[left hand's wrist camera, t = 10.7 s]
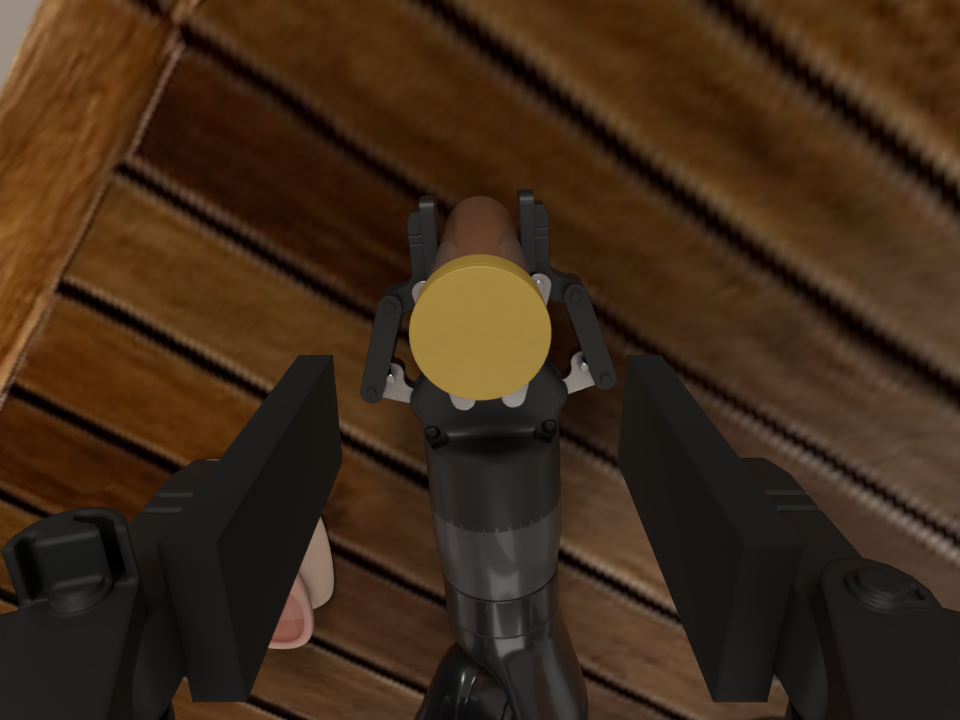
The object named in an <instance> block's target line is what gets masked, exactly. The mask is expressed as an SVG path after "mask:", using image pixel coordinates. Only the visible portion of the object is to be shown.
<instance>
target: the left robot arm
mask: <svg viewBox="0 0 960 720" xmlns="http://www.w3.org/2000/svg"><path fill="white" fill-rule="evenodd" d="M342 462H343V460H342V449H341V439H340V428H339V417H338V407H337V396H336V385H335V374H334V364H333V355H299V356H298V357H297V358H296V360H295V361H294V362H293V364H292V365H291V366H290V368H289V369H288V370H287V372H286V373H285V374H284V376H283V377H282V378H281V379H280V381H279V382H278V383H277V385H276V386H275V387H274V389H273V390H272V391H271V393H270V394H269V395H268V397H267V398H266V399H265V401H264V402H263V403H262V404H261V406H260V407H259V408H258V410H257V411H256V412H255V414H254V415H253V416H252V418H251V419H250V420H249V422H248V423H247V424H246V426H245V427H244V428H243V429H242V431H241V432H240V433H239V435H238V436H237V437H236V439H235V440H234V441H233V443H232V444H231V445H230V447H229V448H228V449H227V451H226V452H225V453H224V455H223V456H222V457H221V458H220V460H195V461H194V462H192V463H190V464H189V465H187V466H186V467H184V468H182V469H181V470H179V471H178V472H176V473H174V474H173V475H171V476H170V477H169V479H168V480H167V481H166V482H165V483H164V484H163V486H162V487H161V488H160V489H159V490H158V491H157V493H156V496H155V497H152V498H151V499H150V501H149V502H148V503H147V504H146V505H145V506H144V508H143V511H142V513H138V515H137V516H136V517H135V518H134V519H133V520H132V522H131V523H130V524H129V525H128V526H127V522H126V518H125V516H124V515H122V514H121V513H120V512H118V511H117V510H116V509H110V508H105V507H87V508H77V509H73V510H69V511H65V512H61V513H57V514H54V515H52V516H49V517H47V518H45V519H42V520H40V521H38V522H35V523H33V524H31V525H30V526H28V527H27V528H25V529H24V530H22V531H21V532H19V533H18V534H16V535H14V536H13V537H12V538H11V539H10V540H9V542H8V543H7V544H6V545H5V546H4V547H3V548H2V549H1V552H2V555H3V558H4V561H5V564H6V566H7V569H8V572H9V575H10V578H11V581H12V584H13V587H14V590H15V592H16V595H17V598H18V601H19V604H20V606H19V608H18V610H17V611H13V612H10V613H5V614H1V615H0V720H175V714H174V709H173V705H172V701H171V700H172V698H173V696H174V694H175V692H176V691H177V689H178V687H179V685H180V683H181V681H182V679H183V677H184V675H185V674H186V675H187V679H188V683H189V687H190V692H191V696H192V700H193V702H247V700H248V697H249V695H250V692H251V690H252V687H253V685H254V682H255V680H256V677H257V674H258V672H259V669H260V667H261V664H262V662H263V659H264V657H265V654H266V652H267V649H268V647H269V644H270V642H271V639H272V637H273V634H274V632H275V629H276V627H277V624H278V622H279V619H280V617H281V614H282V612H283V609H284V607H285V604H286V602H287V599H288V597H289V594H290V592H291V589H292V587H293V584H294V582H295V579H296V577H297V574H298V572H299V569H300V567H301V564H302V562H303V559H304V557H305V554H306V552H307V549H308V547H309V544H310V542H311V539H312V537H313V534H314V532H315V529H316V527H317V524H318V522H319V519H320V517H321V514H322V512H323V509H324V507H325V504H326V502H327V499H328V497H329V494H330V492H331V489H332V487H333V484H334V482H335V479H336V477H337V474H338V472H339V469H340V467H341V464H342ZM617 462H618V464H619V467H620V469H621V472H622V474H623V477H624V479H625V482H626V484H627V487H628V489H629V492H630V494H631V497H632V499H633V502H634V504H635V507H636V509H637V512H638V514H639V517H640V519H641V522H642V524H643V527H644V529H645V532H646V534H647V537H648V539H649V542H650V544H651V547H652V549H653V552H654V554H655V557H656V559H657V562H658V564H659V567H660V569H661V572H662V574H663V577H664V579H665V582H666V584H667V587H668V589H669V592H670V594H671V597H672V599H673V602H674V604H675V607H676V609H677V612H678V614H679V617H680V619H681V622H682V624H683V627H684V629H685V632H686V634H687V637H688V639H689V642H690V644H691V647H692V649H693V652H694V654H695V657H696V659H697V662H698V664H699V667H700V669H701V672H702V675H703V677H704V680H705V682H706V685H707V687H708V690H709V692H710V695H711V697H712V700H713V702H767V700H768V696H769V692H770V687H771V683H772V679H773V675H774V670H775V672H776V674H777V676H778V678H779V680H780V682H781V683H782V685H783V687H784V689H785V691H786V693H787V695H788V697H789V701H788V705H787V709H786V713H785V717H784V720H960V612H958V611H954V610H950V609H946V608H942V607H941V605H940V603H939V602H938V601H937V599H936V598H935V597H934V595H933V594H932V593H931V591H930V590H929V589H928V588H927V587H925V586H924V585H923V584H921V583H920V582H919V581H917V580H916V579H915V578H913V577H912V576H910V575H908V574H906V573H904V572H902V571H900V570H898V569H896V568H894V567H892V566H890V565H887V564H884V563H880V562H877V561H873V560H870V559H864V558H862V557H861V556H860V554H859V553H858V552H857V551H856V550H855V549H854V547H853V546H852V545H851V544H850V543H849V542H848V541H847V539H846V538H845V537H844V536H843V535H842V534H841V532H840V531H839V530H838V529H837V528H836V527H835V526H834V524H833V523H832V522H831V521H830V520H829V519H828V517H827V516H826V515H825V514H824V513H823V512H822V511H821V510H818V506H817V505H816V504H815V502H814V501H813V500H812V499H811V498H810V497H809V496H808V495H805V491H804V490H803V489H802V488H801V486H800V485H799V484H798V483H797V482H796V481H795V479H794V478H793V477H792V476H791V475H790V474H789V473H788V472H786V471H784V470H783V469H781V468H780V467H778V466H776V465H775V464H773V463H772V462H770V461H768V460H767V459H765V458H739V457H738V456H737V455H736V453H735V452H734V451H733V449H732V448H731V447H730V445H729V444H728V443H727V441H726V440H725V439H724V437H723V436H722V435H721V433H720V432H719V431H718V430H717V428H716V427H715V426H714V424H713V423H712V422H711V420H710V419H709V418H708V416H707V415H706V414H705V412H704V411H703V410H702V408H701V407H700V406H699V404H698V403H697V402H696V401H695V399H694V398H693V397H692V395H691V394H690V393H689V391H688V390H687V389H686V387H685V386H684V385H683V383H682V382H681V381H680V379H679V378H678V377H677V376H676V374H675V373H674V372H673V370H672V369H671V368H670V366H669V365H668V364H667V362H666V361H665V360H664V358H663V357H662V356H661V355H627V364H626V374H625V385H624V396H623V406H622V417H621V428H620V439H619V449H618V460H617Z"/></svg>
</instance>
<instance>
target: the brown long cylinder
mask: <svg viewBox="0 0 960 720" xmlns="http://www.w3.org/2000/svg"><path fill="white" fill-rule="evenodd" d="M478 254H484V255H493V256H497V257H501V258H503V259H506V260H509V261H511V262H512V263H514V264H516V265H518V266H519V267H520V268H522V269H523V270H524V271H525V272H526V273H527V274H528V275H530V273H529V270H528V267H527V263H526V260H525V257H524V254H523V251H522V248H521V245H520V242H519V238H518V235H517V232H516V229H515V226H514V223H513V220H512V217H511V215H510V213H509V212H508V210H507V209H506V208H505V207H504V206H503V205H502V204H501V203H500V202H498V201H496V200H495V199H492V198H489V197H484V196H476V197H471V198H468V199H466V200H463V201H462V202H460V203H459V204H458V205H457V206H456V207H455V208H454V209H453V210H452V212H451V213H450V215H449V217H448V220H447V223H446V226H445V229H444V232H443V236H442V239H441V242H440V245H439V248H438V251H437V255H436V258H435V261H434V264H433V267H432V270H431V274H430V276H431V275H432V274H433V273H434V272H435V271H436V270H437V269H439V268H440V267H441V266H443V265H445V264H446V263H448V262H450V261H452V260H454V259H457V258H460V257H463V256H468V255H478ZM530 277H531V276H530Z"/></svg>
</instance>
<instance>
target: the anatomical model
mask: <svg viewBox="0 0 960 720" xmlns="http://www.w3.org/2000/svg"><path fill="white" fill-rule="evenodd" d="M209 460H220V459H209ZM333 588H334V571H333V562H332V556H331V550H330V546H329V542H328V538H327V534H326V530H325V527H324V524H323V521H322V519H321V517H320V519H319V522H318V524H317V527H316V529H315V532H314V534H313V537H312V539H311V542H310V544H309V547H308V549H307V552H306V554H305V557H304V559H303V562H302V564H301V567H300V569H299V572H298V574H297V577H296V579H295V582H294V584H293V587H292V589H291V592H290V594H289V597H288V599H287V602H286V604H285V607H284V609H283V612H282V614H281V617H280V619H279V622H278V624H277V627H276V629H275V632H274V634H273V637H272V639H271V642H270V644H269V647H268V648H274V649H290V648H296V647H299V646H302V645H304V644H305V643H306V642H307V641H308V640H309V639H310V637H311V635H312V633H313V628H314V613H313V609H315V608H317V607H320V606H321V605H323V604H324V603H326V602H327V601H328V600H329V598H330V597H331V595H332V592H333Z"/></svg>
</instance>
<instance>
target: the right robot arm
mask: <svg viewBox="0 0 960 720" xmlns="http://www.w3.org/2000/svg"><path fill="white" fill-rule="evenodd" d="M517 211H518V236H519V242H520V245H521V248H522V251H523V254H524V257H525V260H526V263H527V267H528V270H529V273H530V276H531V278H532V279H533V280H534V282H535V283H536V285H537V286H538V288H539V290H540V292H541V294H542V297H543V299H544V302H545V305H546V306H547V302H548V299H551V300H555V301H558V302H562V303H564V305H565V308H566V310H567V313H568V316H569V318H570V321H571V324H572V327H573V329H574V332H575V335H576V338H577V340H578V343H579V346H576V347H574V348H573V349H572V350H571V351H570V353H569V366H568V368H567V369H566V370H565V371H564V372H562V373H561V372H560V371H559V370H558V369H557V368H556V366H555V365H554V364H553V363H552V362H551V361H550V359H549V358H548V357H546V359H545V362H544V364H543V365H542V367H541V369H540V370H539V371H538V373H537V374H536V375H535V376H534V378H532V379H531V380H530V381H529V382H528V383H527V384H526V385H524V386H523V387H522V388H520V389H519V390H517V391H515V392H513V393H511V394H509V395H506V396H504V397H500V398H497V399H490V400H469V399H464V398H460V397H457V396H454V395H451V394H449V393H447V392H445V391H443V390H442V389H440V388H439V387H437V386H436V385H435V384H433V383H432V382H431V381H430V380H429V379H428V378H427V377H426V376H425V375H424V374H423V372H421V373H420V375H419V376H418V378H417V380H416V381H415V382H414V381H411V380H410V379H409V378H408V377H407V375H406V372H405V370H406V366H405V363H404V362H403V361H402V360H401V359H399V358H397V357H394V354H395V349H396V345H397V340H398V336H399V331H400V327H401V322H402V318H403V313H405V312H407V311H409V310H411V309H414V307H415V304H416V301H417V298H418V295H419V293H420V291H421V289H422V287H423V285H424V284H425V282H426V281H427V279H428V278H429V277H430V274H431V270H432V267H433V264H434V261H435V258H436V255H437V251H438V248H439V245H440V231H439V220H438V209H437V199H436V195H431V196H421V198H420V199H419V209H413V210H412V211H411V212H410V215H409V219H408V222H407V228H408V238H409V247H410V256H411V265H412V276H411V277H410V278H409V279H408V280H406V281H404V282H401V283H399V284H391V285H389V286H388V287H387V288H386V290H385V292H384V294H383V296H382V298H381V299H380V301H379V303H378V306H377V311H376V316H375V321H374V326H373V331H372V336H371V340H370V345H369V350H368V355H367V360H366V365H365V370H364V375H363V380H362V384H361V389H360V394H361V397H362V398H363V399H364V400H365V401H366V402H369V403H376V402H378V401H380V400H381V399H382V397H384V398H389V399H393V400H397V401H402V402H406V403H410V405H411V408H412V410H413V412H414V413H415V414H416V416H417V417H418V418H419V420H420V422H421V424H422V428H423V435H424V444H425V453H426V462H427V471H428V480H429V488H430V498H431V506H432V515H433V524H434V532H435V539H436V544H437V548H438V551H439V555H440V558H441V562H442V567H443V576H444V585H445V594H446V604H447V613H448V619H449V624H450V627H451V630H452V633H453V636H454V638H455V640H456V642H455V643H454V644H453V645H452V646H451V647H450V648H449V649H448V650H447V651H446V653H445V654H444V656H443V657H442V659H441V661H440V663H439V665H438V667H437V669H436V672H435V674H434V676H433V678H432V681H431V683H430V685H429V688H428V690H427V692H426V695H425V697H424V699H423V701H422V703H421V705H420V708H419V710H418V712H417V713H416V715H415V717H414V719H413V720H588V699H587V691H586V685H585V681H584V678H583V674H582V671H581V667H580V664H579V662H578V659H577V656H576V653H575V651H574V648H573V645H572V642H571V640H570V637H569V634H568V631H567V628H566V625H565V622H564V620H563V618H562V615H561V613H560V610H559V606H558V563H557V562H558V550H559V544H560V536H561V499H560V446H559V417H560V413H561V411H562V409H563V407H564V405H565V404H566V402H567V399H568V394H570V393H573V392H575V391H578V390H581V389H584V388H587V387H589V386H592V385H596V387H598V388H599V389H602V390H607V389H610V388H612V387H613V386H614V385H615V384H616V381H617V375H616V372H615V370H614V367H613V364H612V361H611V358H610V355H609V352H608V349H607V347H606V344H605V341H604V338H603V335H602V332H601V329H600V327H599V324H598V321H597V318H596V315H595V312H594V309H593V307H592V304H591V301H590V298H589V295H588V292H587V290H586V288H585V287H584V285H583V283H582V282H581V280H580V279H579V277H578V276H577V275H575V274H573V273H563V272H560V271H557V270H554V269H553V268H552V267H551V266H550V251H549V215H548V212H547V210H546V208H545V205H544V204H543V202H542V201H534V194H533V191H532V190H531V189H525V190H517ZM763 720H784V719H778V718H774V719H763Z"/></svg>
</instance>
